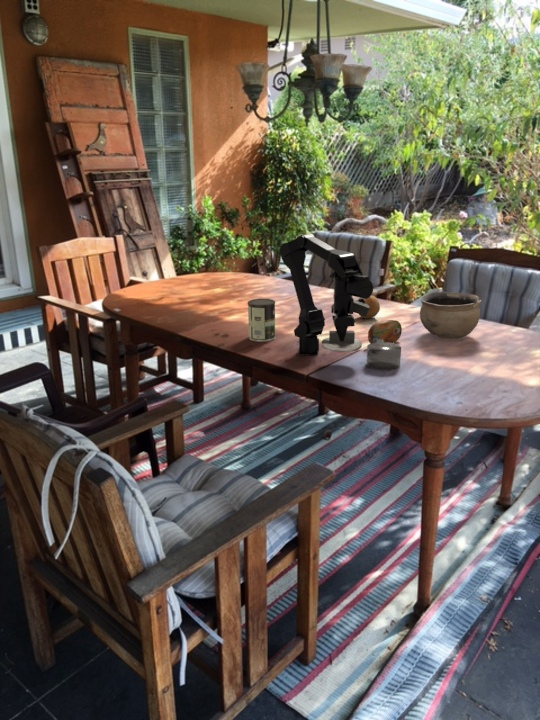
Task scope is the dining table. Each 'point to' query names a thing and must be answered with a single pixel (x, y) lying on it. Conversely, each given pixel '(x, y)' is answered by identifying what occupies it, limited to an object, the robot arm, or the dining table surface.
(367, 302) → the onion
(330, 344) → the lid
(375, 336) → the tin
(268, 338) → the coffee can
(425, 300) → the ceramic bowl
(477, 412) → the dining table surface
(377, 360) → the pot
